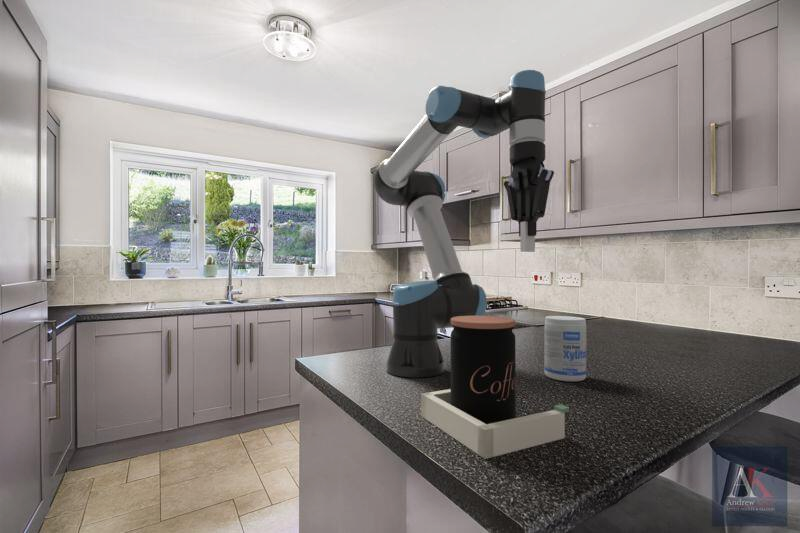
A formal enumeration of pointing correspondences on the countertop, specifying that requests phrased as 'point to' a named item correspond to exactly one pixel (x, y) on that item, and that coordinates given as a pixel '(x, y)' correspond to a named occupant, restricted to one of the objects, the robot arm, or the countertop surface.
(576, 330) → the supplement tub
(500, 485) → the countertop surface
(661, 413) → the countertop surface
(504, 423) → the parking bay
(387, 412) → the countertop surface
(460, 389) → the coffee jar
